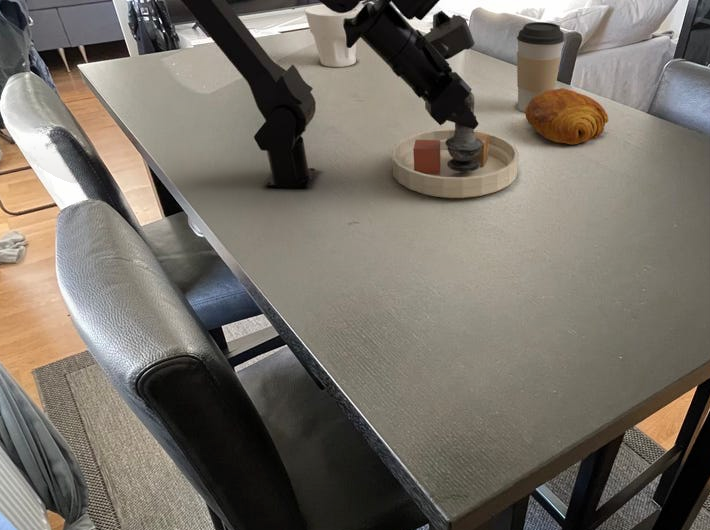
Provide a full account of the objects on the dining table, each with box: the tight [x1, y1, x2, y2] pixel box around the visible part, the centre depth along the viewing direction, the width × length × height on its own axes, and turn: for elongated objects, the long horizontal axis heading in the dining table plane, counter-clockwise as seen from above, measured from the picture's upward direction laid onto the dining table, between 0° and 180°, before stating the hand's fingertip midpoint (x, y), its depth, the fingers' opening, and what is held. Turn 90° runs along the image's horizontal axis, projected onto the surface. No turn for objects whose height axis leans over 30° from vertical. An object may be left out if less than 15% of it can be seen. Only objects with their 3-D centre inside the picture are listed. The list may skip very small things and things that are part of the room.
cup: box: [304, 3, 360, 68], centre depth 138 cm, size 12×12×11 cm
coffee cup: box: [516, 21, 565, 113], centre depth 115 cm, size 9×9×15 cm
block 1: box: [413, 140, 441, 174], centre depth 94 cm, size 4×4×4 cm
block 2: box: [474, 133, 490, 167], centre depth 97 cm, size 4×4×4 cm
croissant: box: [524, 87, 609, 145], centre depth 108 cm, size 14×16×8 cm
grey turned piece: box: [446, 91, 483, 172], centre depth 90 cm, size 6×6×12 cm
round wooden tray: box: [391, 128, 520, 199], centre depth 95 cm, size 20×20×4 cm
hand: (472, 122), depth 90 cm, fingers closed on grey turned piece, 3 cm apart
